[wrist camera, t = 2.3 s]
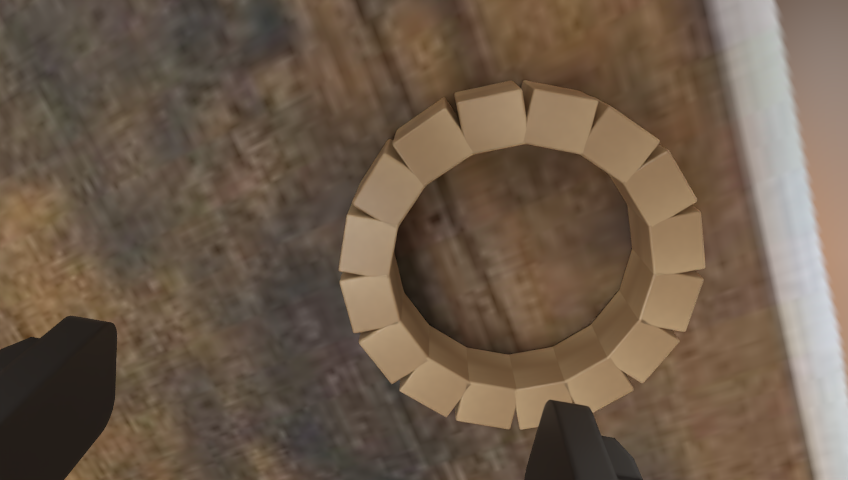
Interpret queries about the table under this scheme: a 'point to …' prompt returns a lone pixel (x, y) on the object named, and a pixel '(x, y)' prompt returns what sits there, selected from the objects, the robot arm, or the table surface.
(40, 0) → the table surface
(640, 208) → the ring
